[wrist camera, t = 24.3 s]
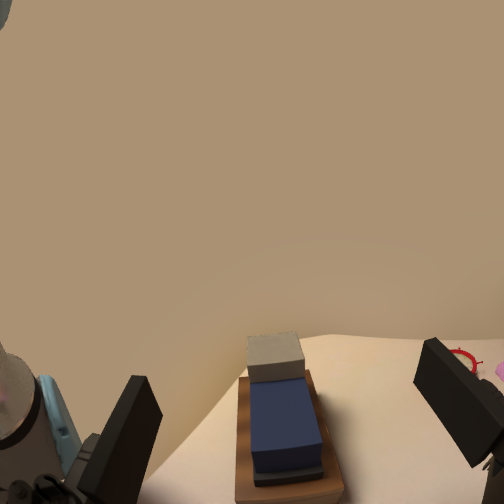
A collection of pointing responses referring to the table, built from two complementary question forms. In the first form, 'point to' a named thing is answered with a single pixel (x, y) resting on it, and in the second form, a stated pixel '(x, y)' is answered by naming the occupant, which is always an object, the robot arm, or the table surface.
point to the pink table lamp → (500, 370)
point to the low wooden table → (288, 495)
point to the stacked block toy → (281, 413)
